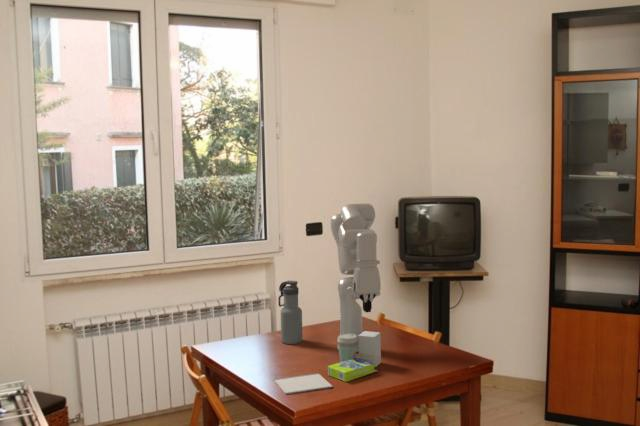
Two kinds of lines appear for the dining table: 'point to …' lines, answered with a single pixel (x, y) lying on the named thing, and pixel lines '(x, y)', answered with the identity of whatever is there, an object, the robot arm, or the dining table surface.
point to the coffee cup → (347, 346)
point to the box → (351, 369)
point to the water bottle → (290, 313)
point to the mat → (302, 383)
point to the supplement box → (370, 347)
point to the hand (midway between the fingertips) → (367, 311)
